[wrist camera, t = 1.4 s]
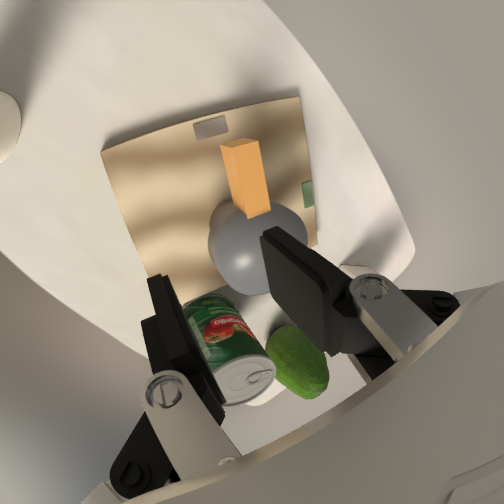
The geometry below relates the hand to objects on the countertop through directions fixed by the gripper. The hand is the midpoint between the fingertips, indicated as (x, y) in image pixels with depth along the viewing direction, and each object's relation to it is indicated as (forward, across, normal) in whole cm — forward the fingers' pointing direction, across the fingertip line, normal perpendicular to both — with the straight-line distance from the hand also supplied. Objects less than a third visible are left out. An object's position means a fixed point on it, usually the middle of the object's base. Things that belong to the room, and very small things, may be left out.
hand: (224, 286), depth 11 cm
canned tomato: (+19, 0, +18) cm, 27 cm away
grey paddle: (+13, -6, +4) cm, 15 cm away
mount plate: (+19, -6, +4) cm, 21 cm away
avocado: (+19, -9, +28) cm, 35 cm away
